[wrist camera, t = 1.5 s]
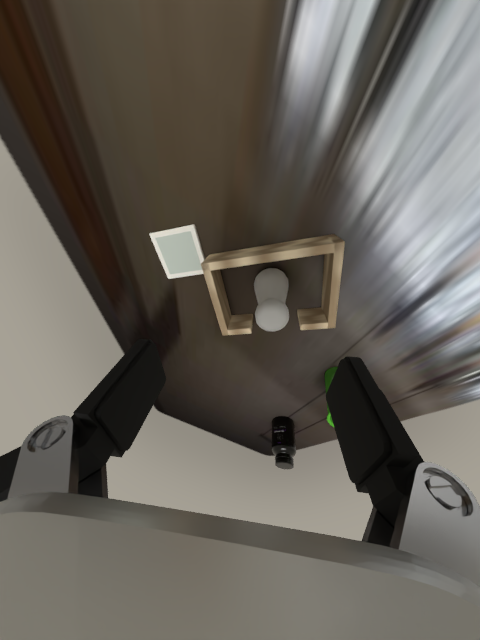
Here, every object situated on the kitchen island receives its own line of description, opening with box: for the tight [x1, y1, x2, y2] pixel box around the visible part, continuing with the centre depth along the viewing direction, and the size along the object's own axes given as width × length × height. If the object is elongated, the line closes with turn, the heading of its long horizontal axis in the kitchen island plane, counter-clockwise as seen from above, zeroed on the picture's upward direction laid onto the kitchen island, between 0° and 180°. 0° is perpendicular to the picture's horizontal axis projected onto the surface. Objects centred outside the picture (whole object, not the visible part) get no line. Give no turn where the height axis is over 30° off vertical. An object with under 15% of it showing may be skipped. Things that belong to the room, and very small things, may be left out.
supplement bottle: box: [272, 417, 296, 469], centre depth 56 cm, size 7×7×12 cm
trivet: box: [149, 224, 205, 279], centre depth 33 cm, size 8×8×1 cm
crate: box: [201, 234, 345, 335], centre depth 32 cm, size 20×14×5 cm
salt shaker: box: [254, 268, 289, 331], centre depth 28 cm, size 6×6×13 cm
